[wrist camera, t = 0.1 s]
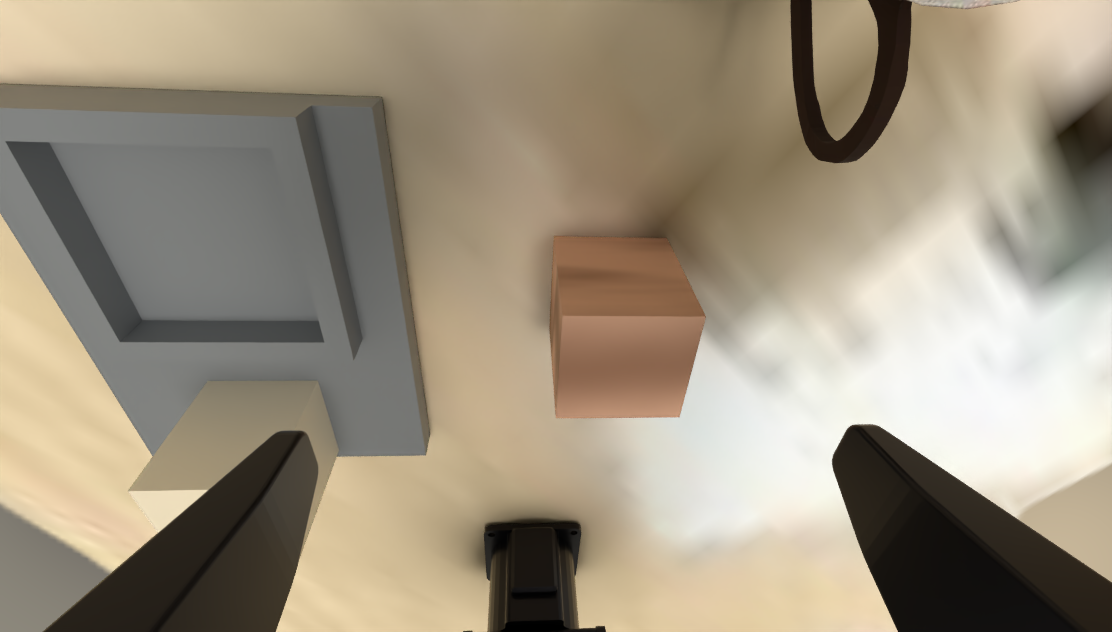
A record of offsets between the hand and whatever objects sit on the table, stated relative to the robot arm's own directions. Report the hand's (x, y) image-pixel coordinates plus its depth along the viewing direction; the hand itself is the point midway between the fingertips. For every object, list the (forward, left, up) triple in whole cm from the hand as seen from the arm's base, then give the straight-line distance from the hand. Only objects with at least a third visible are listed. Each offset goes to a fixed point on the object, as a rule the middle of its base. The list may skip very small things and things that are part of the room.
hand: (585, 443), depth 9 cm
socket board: (-7, +13, -14) cm, 21 cm away
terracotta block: (-6, -3, -15) cm, 16 cm away
